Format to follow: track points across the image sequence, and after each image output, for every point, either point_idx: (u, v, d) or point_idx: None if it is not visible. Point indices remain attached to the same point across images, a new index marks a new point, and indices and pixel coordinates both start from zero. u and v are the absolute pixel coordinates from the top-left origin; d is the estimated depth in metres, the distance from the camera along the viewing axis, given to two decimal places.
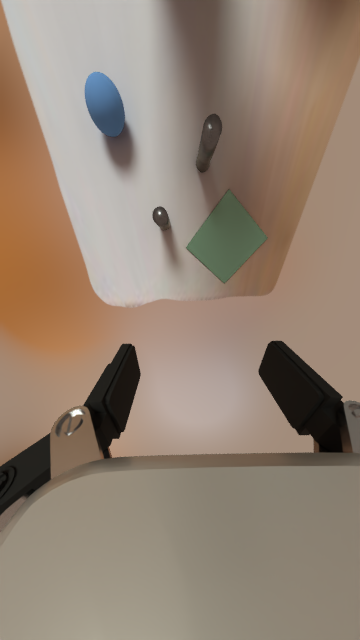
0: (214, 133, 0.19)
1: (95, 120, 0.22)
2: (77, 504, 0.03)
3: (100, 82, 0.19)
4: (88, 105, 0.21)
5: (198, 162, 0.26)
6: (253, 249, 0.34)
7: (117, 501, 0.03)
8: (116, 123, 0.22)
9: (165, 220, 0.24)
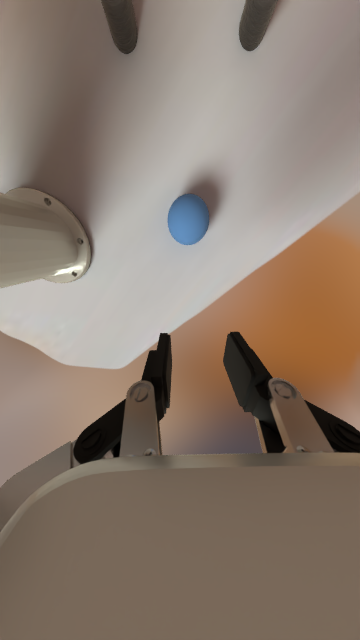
0: None
1: (208, 220, 0.18)
2: (77, 503, 0.03)
3: (180, 218, 0.16)
4: (203, 229, 0.18)
5: (130, 2, 0.12)
6: None
7: (117, 501, 0.03)
8: (193, 194, 0.17)
9: None
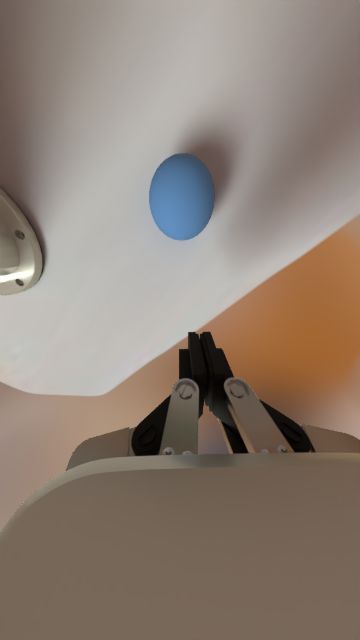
0: None
1: (213, 199, 0.11)
2: (77, 503, 0.03)
3: (169, 195, 0.10)
4: (206, 214, 0.11)
5: None
6: None
7: (117, 501, 0.03)
8: None
9: None
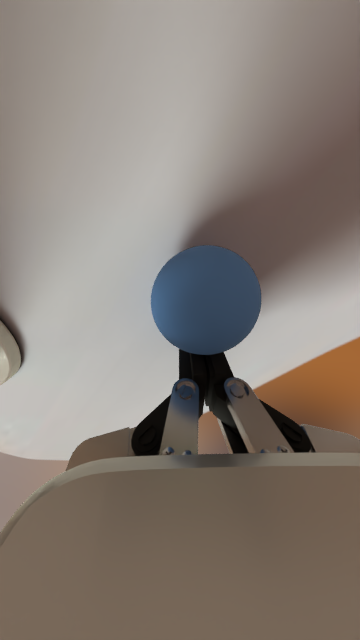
0: None
1: None
2: (77, 503, 0.03)
3: (185, 329, 0.05)
4: None
5: None
6: None
7: (117, 501, 0.03)
8: (220, 251, 0.06)
9: None
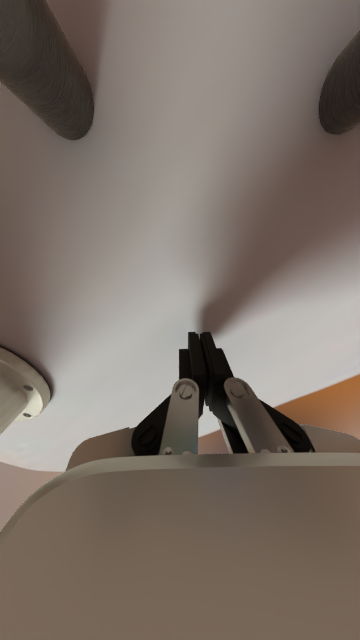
0: None
1: None
2: (77, 503, 0.03)
3: None
4: None
5: (54, 45, 0.04)
6: None
7: (117, 501, 0.03)
8: None
9: None
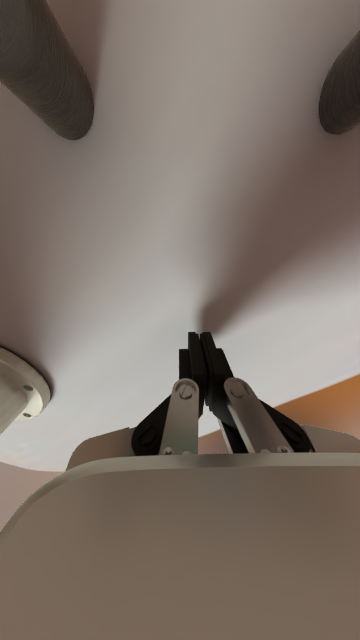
0: None
1: None
2: (77, 503, 0.03)
3: None
4: None
5: (54, 45, 0.04)
6: None
7: (117, 501, 0.03)
8: None
9: None
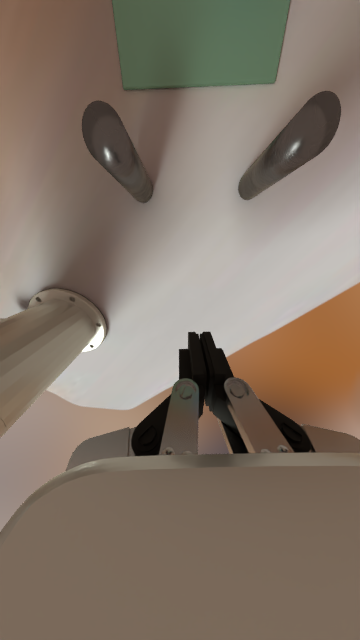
0: (103, 122, 0.08)
1: None
2: (77, 503, 0.03)
3: None
4: None
5: (148, 185, 0.15)
6: None
7: (117, 501, 0.03)
8: None
9: (322, 98, 0.08)
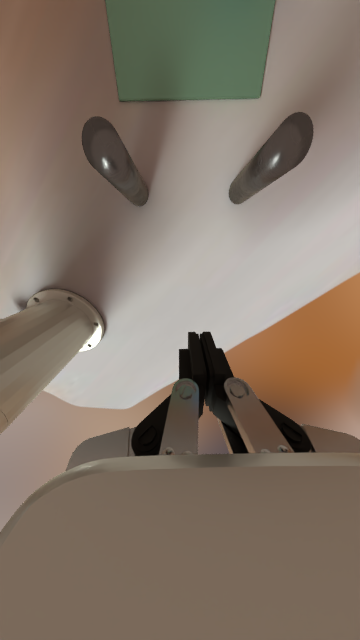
0: (102, 135, 0.09)
1: None
2: (77, 504, 0.03)
3: None
4: None
5: (144, 190, 0.15)
6: None
7: (117, 501, 0.03)
8: None
9: (296, 117, 0.09)
